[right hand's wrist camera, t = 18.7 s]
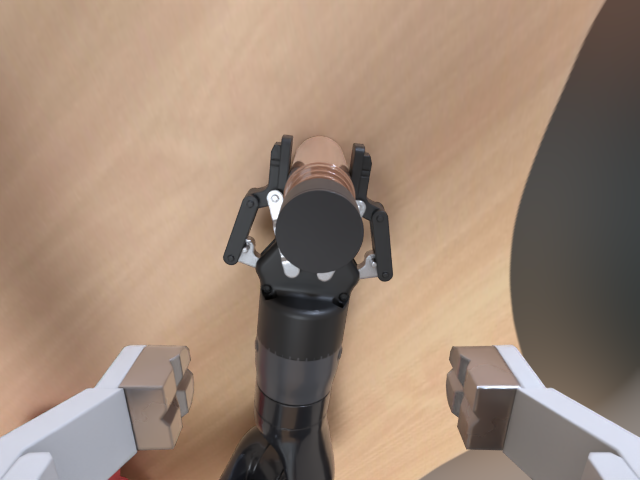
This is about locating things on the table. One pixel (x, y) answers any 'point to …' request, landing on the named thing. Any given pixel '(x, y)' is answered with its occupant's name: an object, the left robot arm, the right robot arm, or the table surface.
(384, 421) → the table surface
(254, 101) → the table surface
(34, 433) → the right robot arm
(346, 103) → the table surface
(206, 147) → the table surface
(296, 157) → the bottle
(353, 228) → the cap
